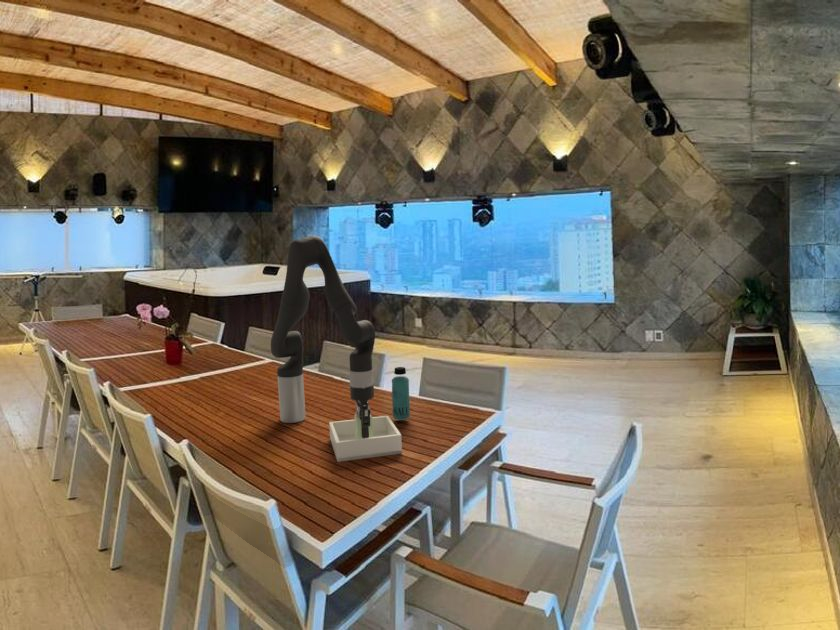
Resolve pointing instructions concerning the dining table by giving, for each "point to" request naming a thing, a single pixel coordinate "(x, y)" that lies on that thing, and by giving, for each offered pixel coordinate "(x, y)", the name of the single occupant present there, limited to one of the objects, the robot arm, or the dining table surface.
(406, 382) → the beverage bottle
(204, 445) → the dining table surface
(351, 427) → the serving bin
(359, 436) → the green block
